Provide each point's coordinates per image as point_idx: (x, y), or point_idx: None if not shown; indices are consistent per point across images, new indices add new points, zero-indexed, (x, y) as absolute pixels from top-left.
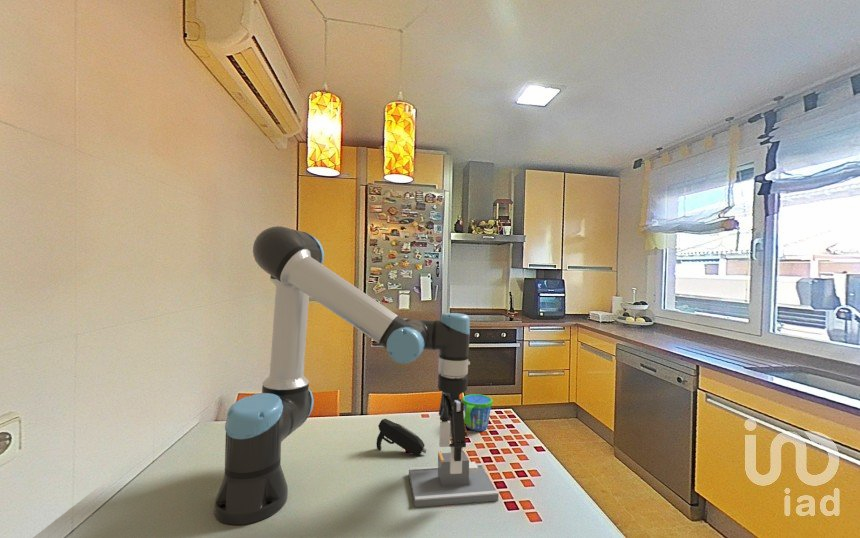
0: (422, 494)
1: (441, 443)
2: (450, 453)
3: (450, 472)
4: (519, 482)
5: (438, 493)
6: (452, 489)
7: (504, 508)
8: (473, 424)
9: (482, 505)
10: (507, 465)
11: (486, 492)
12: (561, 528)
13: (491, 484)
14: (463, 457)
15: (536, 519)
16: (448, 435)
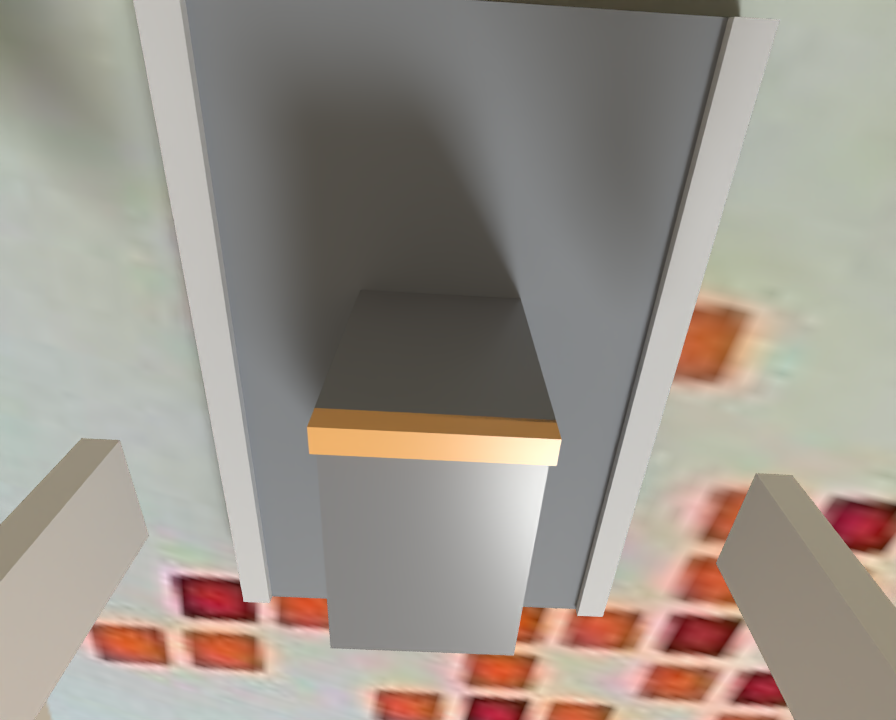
0: (246, 86)
1: (769, 521)
2: (516, 543)
3: (76, 447)
4: (416, 685)
5: (259, 245)
6: (314, 366)
7: (186, 566)
8: None
9: (211, 481)
10: (591, 692)
11: (248, 550)
12: (57, 694)
13: None
14: (398, 624)
15: (107, 646)
16: (793, 684)
